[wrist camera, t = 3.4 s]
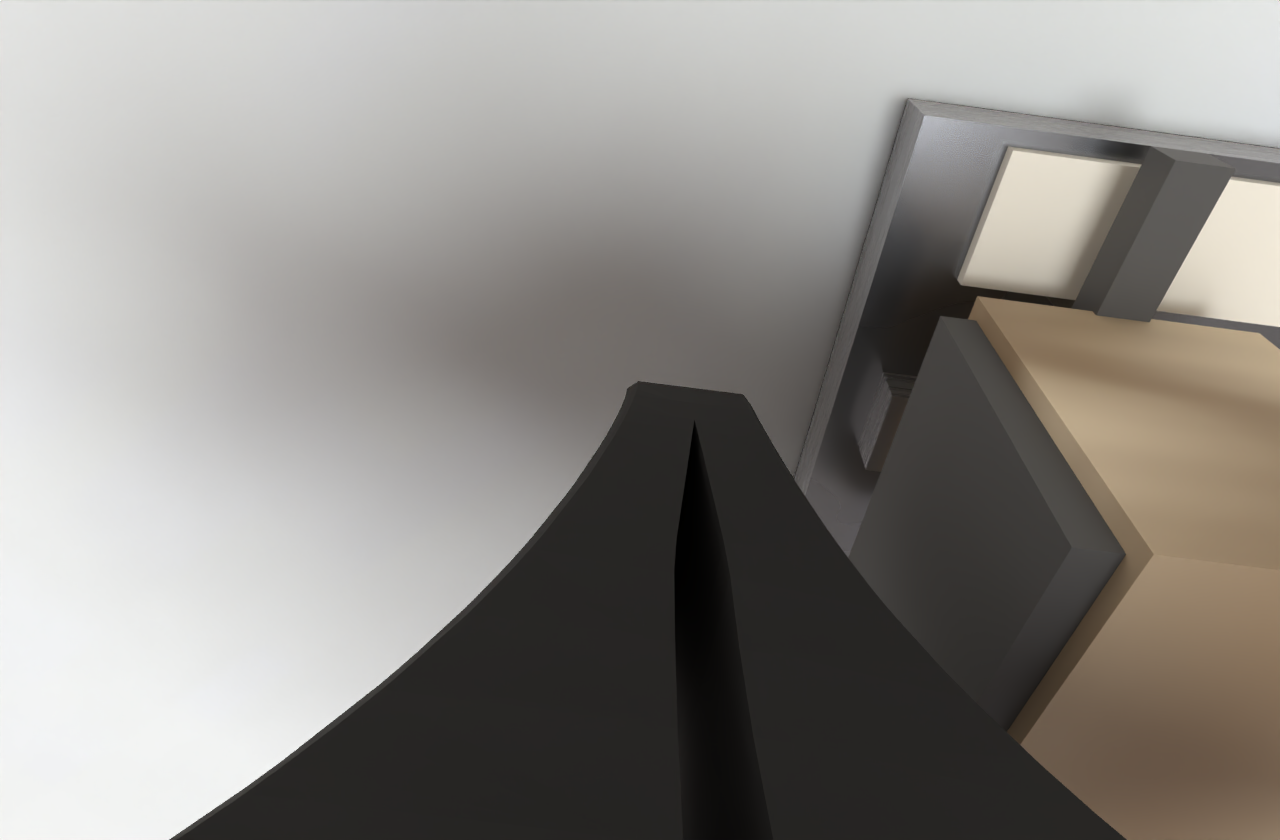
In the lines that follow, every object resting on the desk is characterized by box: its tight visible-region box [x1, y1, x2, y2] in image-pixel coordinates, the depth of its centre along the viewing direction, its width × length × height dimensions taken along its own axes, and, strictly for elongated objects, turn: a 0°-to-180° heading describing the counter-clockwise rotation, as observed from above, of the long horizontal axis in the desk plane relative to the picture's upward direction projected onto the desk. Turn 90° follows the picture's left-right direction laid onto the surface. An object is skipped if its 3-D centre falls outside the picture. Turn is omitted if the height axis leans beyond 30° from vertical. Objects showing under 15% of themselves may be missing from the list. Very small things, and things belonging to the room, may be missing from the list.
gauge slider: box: [848, 146, 1280, 840], centre depth 8 cm, size 4×6×4 cm, turn 173°
